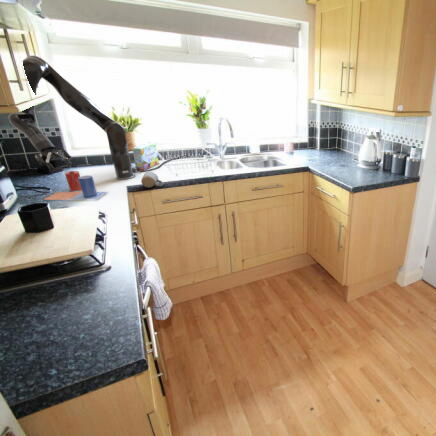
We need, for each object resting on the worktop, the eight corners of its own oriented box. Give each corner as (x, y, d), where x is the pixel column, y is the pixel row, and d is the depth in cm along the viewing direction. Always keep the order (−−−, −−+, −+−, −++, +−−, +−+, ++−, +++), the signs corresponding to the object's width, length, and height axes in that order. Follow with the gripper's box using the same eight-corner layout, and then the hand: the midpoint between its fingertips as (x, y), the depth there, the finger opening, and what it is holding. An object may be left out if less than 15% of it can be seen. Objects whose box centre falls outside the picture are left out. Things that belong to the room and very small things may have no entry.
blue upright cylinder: (87, 193, 168) (82, 175, 163) (99, 193, 168) (94, 175, 164) (81, 197, 162) (75, 178, 158) (93, 197, 163) (88, 178, 159)
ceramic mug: (141, 188, 179) (139, 175, 176) (144, 184, 187) (142, 171, 183) (162, 188, 182) (160, 175, 179) (164, 183, 190) (162, 171, 186)
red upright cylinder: (74, 188, 176) (68, 170, 172) (86, 188, 177) (81, 170, 173) (67, 192, 170) (62, 174, 166) (80, 191, 171) (74, 174, 167)
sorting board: (57, 193, 168) (56, 192, 168) (106, 192, 172) (106, 191, 171) (43, 200, 158) (43, 199, 158) (96, 199, 162) (96, 198, 162)
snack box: (144, 171, 211) (140, 148, 205) (136, 170, 211) (131, 148, 205) (159, 163, 231) (155, 142, 224) (151, 163, 230) (147, 142, 224)
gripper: (28, 141, 163) (48, 166, 164) (59, 137, 175) (78, 161, 176) (25, 150, 167) (45, 175, 167) (56, 146, 179) (74, 169, 180)
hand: (62, 167), depth 172 cm, fingers open, 8 cm apart
